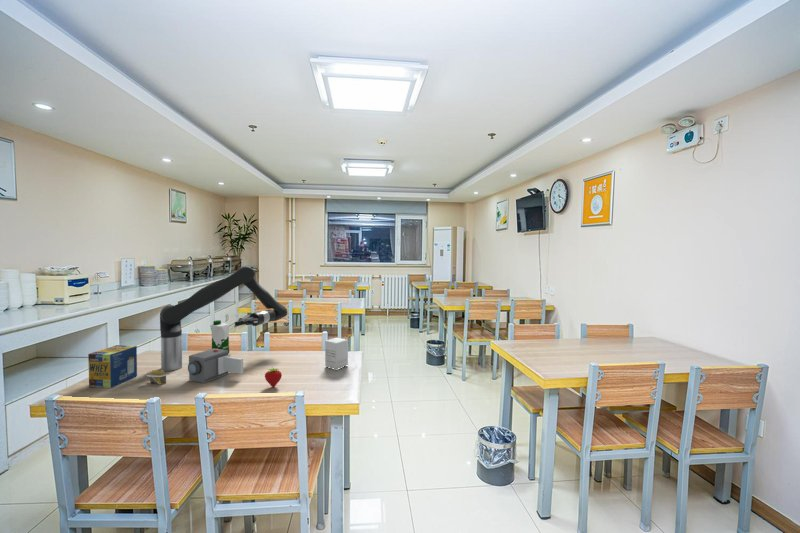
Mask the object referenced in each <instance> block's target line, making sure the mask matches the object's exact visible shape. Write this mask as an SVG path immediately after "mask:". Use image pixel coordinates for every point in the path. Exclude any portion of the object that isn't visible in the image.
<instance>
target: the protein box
mask: <svg viewBox="0 0 800 533" xmlns="http://www.w3.org/2000/svg"><path fill="white" fill-rule="evenodd" d="M137 347H138V346H136V345H123V344H121V345H119V344H117V345H113V346H110V347H106V348H104V349H100V350H97V351H93V352H91V353H88V357H87V359H88V387H89V388H94V387H102V388H103V389H112V388H114V387H116V386H119V385H121V384H123V383H126V382H128V381H130V380H132V379H135V378H137V377H138V358H137V357H138V354H137V353H138V350H137ZM136 376H137V377H136ZM134 377H135V378H134ZM102 388H101V389H102Z"/></svg>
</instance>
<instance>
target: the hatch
mask: <svg viewBox="0 0 800 533" xmlns="http://www.w3.org/2000/svg"><path fill="white" fill-rule="evenodd" d="M225 372H229V373H234V374H239V375H240V374H243V373H244V358H242V357H241V358H240V357H233V356H231V354H230V353H229V354H228V355H226V356H223V357H220V358H218V375H219V374H222V373H225Z"/></svg>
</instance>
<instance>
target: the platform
mask: <svg viewBox="0 0 800 533" xmlns="http://www.w3.org/2000/svg"><path fill="white" fill-rule="evenodd" d="M168 375H170V372H165V371H164V370H161V369H160V370H157V369H153V370H152V371H149V372H147V373H146V377H149V383H150V382H154V383H153V384H158V385H163V384H167V376H168Z"/></svg>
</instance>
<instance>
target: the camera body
mask: <svg viewBox="0 0 800 533" xmlns="http://www.w3.org/2000/svg"><path fill="white" fill-rule="evenodd" d="M229 354H230V351H229V352H228V350H222V349H215V348H213V349H212V348H209V349H207V350H204V351H200V352H197V353H194V354H190V355H188V364H187V371H188V380H189V381H190V380H191V381H192V382H197V383H201V384H206V383H209V382H212V381H214V380H216V379H218V378H221V377H223V376H226V375H227V376H228V375H229V374H230V372H225V373H222V374H219V375H218V358H220V357H223V356H226V355H229Z"/></svg>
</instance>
